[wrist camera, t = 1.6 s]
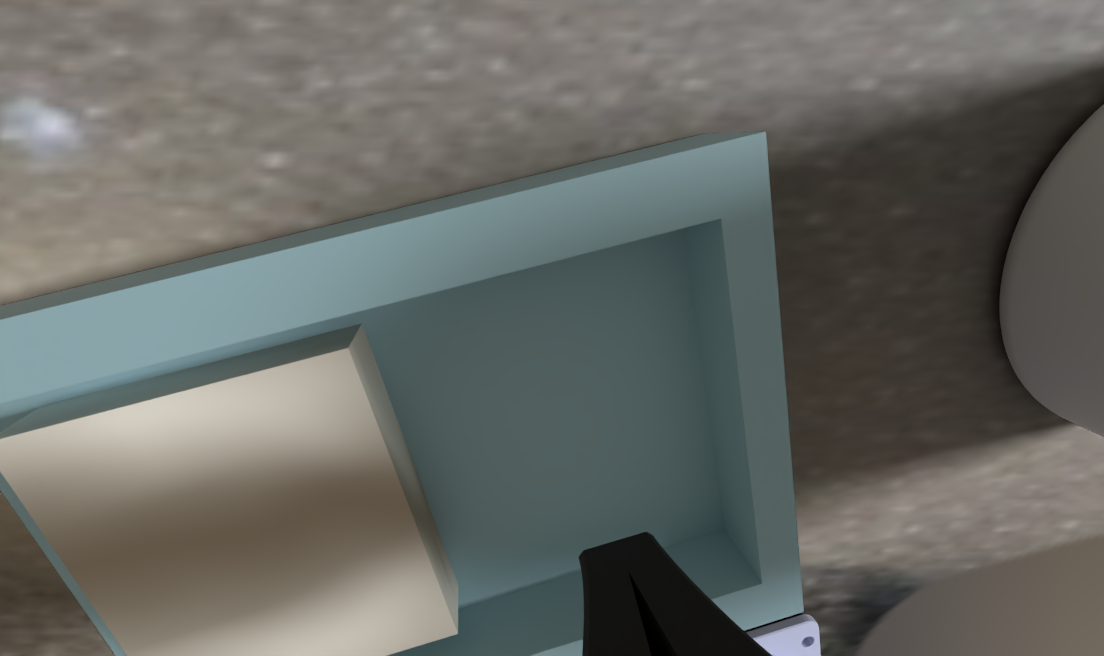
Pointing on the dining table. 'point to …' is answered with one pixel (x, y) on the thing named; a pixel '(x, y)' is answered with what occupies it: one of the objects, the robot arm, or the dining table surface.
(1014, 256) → the cylinder vase
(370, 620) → the cover plate
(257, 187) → the dining table surface
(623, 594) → the robot arm
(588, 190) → the teal box
